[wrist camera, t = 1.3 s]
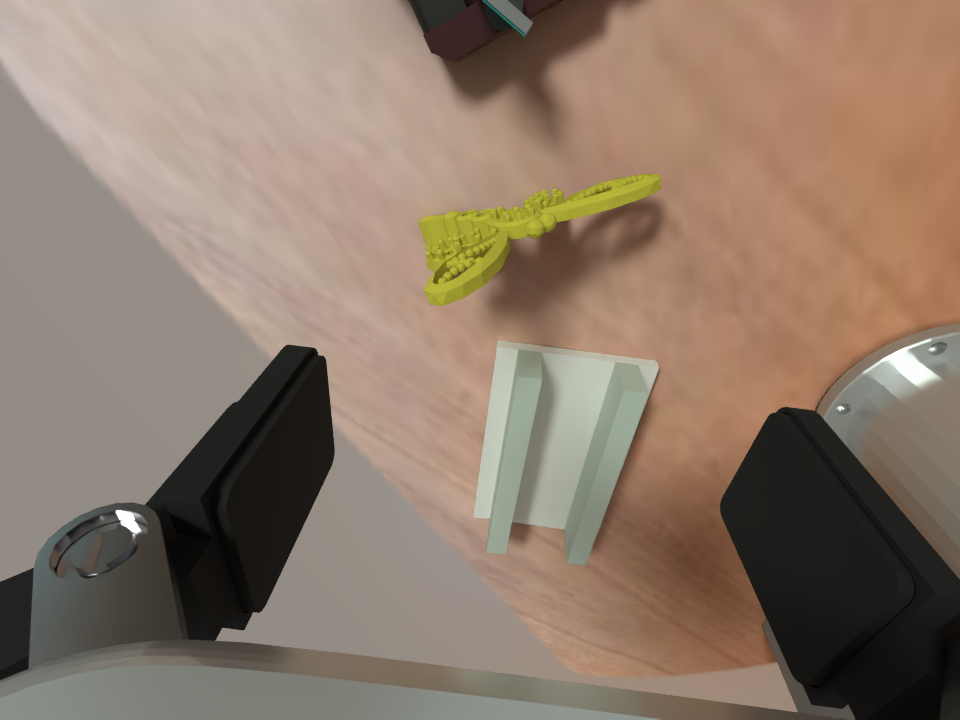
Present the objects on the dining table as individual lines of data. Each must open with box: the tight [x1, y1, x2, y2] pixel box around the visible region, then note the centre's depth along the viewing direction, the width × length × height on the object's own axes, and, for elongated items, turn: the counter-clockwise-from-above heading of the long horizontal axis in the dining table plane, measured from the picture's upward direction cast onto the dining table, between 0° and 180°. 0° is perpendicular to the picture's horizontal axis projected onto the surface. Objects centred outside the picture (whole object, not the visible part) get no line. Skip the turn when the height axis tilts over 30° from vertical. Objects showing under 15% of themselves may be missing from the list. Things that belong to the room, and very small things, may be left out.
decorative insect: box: [418, 174, 661, 306], centre depth 23 cm, size 13×3×10 cm
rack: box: [473, 340, 659, 566], centre depth 32 cm, size 10×16×4 cm, turn 174°
